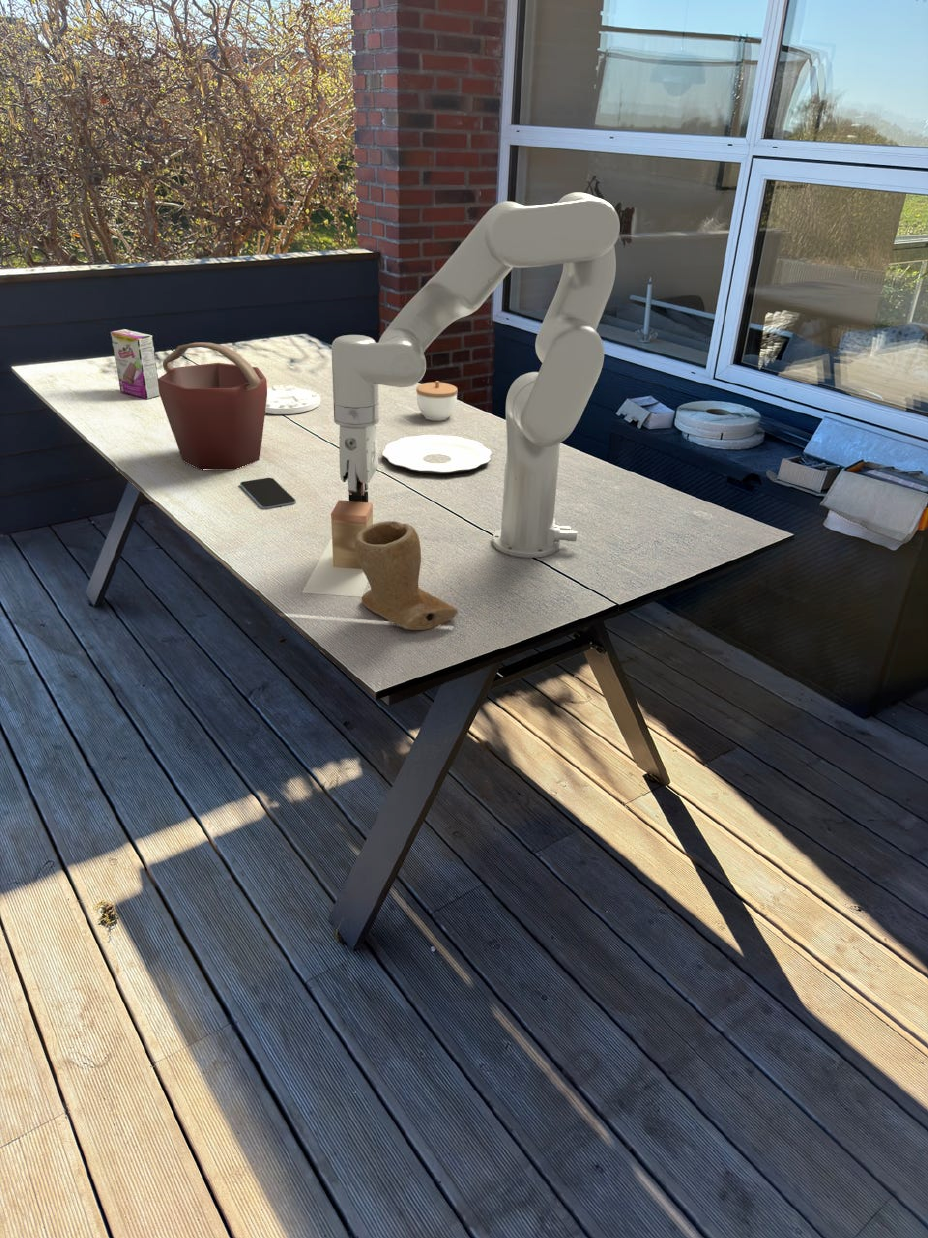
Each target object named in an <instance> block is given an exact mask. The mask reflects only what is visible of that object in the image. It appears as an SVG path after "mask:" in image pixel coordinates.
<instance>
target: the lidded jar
mask: <svg viewBox="0 0 928 1238" xmlns="http://www.w3.org/2000/svg"><path fill="white" fill-rule="evenodd" d="M415 390H416V403H417V407H418V410H419V411H420V413H421V414H422V415H423V416H424V418H425V419H426V420H428V421H429V420H430V421H437V422H438V421H445V420H447V419H448V418H449V416H451V415H452V414H453V412H454V411H455V408H456V406H457V401H458V393H459V392H458V387H457V386H455V385H453V384H451V383H446V382H440V381H438V380H436V381H435V382H426V383H421V384H419V385H417V386H416V388H415Z"/></svg>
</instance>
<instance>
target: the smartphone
mask: <svg viewBox="0 0 928 1238" xmlns="http://www.w3.org/2000/svg"><path fill="white" fill-rule="evenodd" d="M239 484H240V485H239V486H241V487H242V488H243V489H244V490H245V491H246V492H247V493H246V492H245V491H244V490H243V489H242V488H241V487H240V488H241V489H242V490H243V491H244V492H245V493H246V495H248V497H250V498H251V500H252V501H254V503H256V505H257V506H258V507H259V506H260V507H261V509H262V510H270V509H275V508H279V507H287V506H292V505H295V504H296V503H297V501H296V498H295V497H293V496H292V495H291V494H290V493H289V492H288V491H287V489H285V488H284V487H283V486H282V485H281V484H280V483H279V482H278V481H277V480H276V479H275V478H273V477H263V478H262V477H261V478H257V479H251V480H244V481H241V482H240V483H239Z"/></svg>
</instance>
